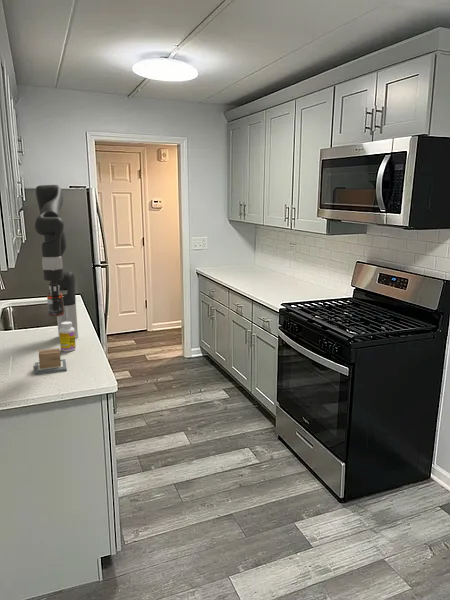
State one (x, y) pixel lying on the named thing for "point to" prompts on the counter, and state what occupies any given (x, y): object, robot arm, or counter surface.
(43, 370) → the mat
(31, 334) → the counter surface
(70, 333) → the supplement bottle
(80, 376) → the counter surface
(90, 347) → the counter surface
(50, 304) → the supplement bottle
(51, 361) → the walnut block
